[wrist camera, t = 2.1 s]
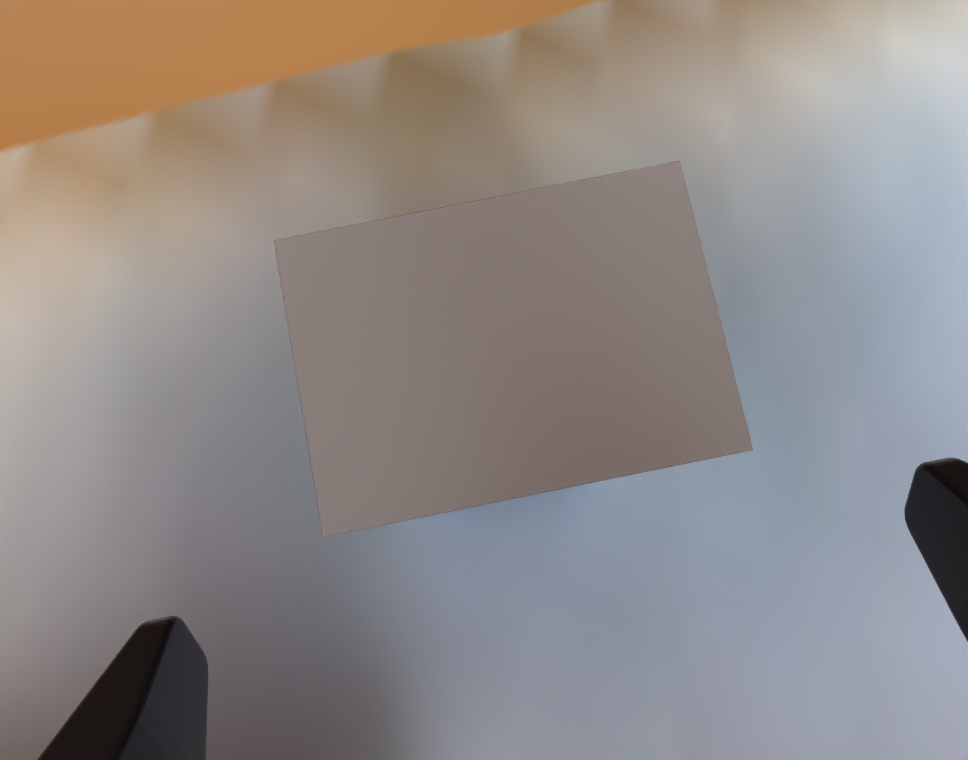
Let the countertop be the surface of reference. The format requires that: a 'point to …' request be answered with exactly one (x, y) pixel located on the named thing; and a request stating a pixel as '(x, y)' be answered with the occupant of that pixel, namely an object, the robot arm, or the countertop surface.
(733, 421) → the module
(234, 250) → the countertop surface
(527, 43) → the countertop surface
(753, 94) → the countertop surface
